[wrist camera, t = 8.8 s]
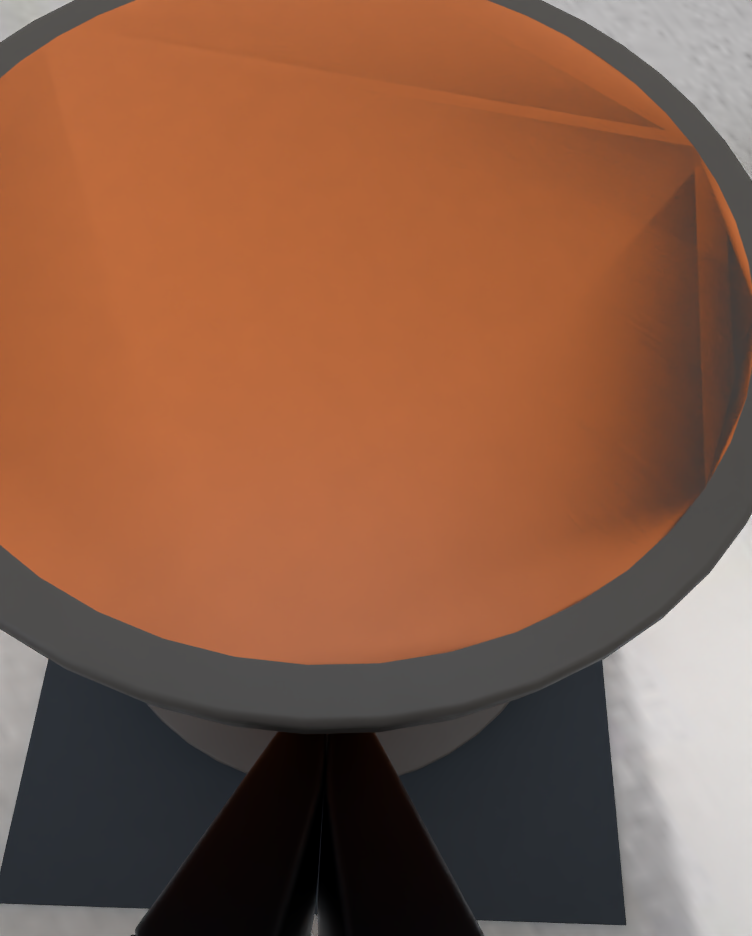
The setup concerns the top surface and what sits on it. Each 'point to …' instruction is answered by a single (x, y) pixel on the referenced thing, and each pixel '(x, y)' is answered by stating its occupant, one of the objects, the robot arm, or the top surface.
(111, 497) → the spool
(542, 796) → the mat
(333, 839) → the robot arm
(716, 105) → the top surface
